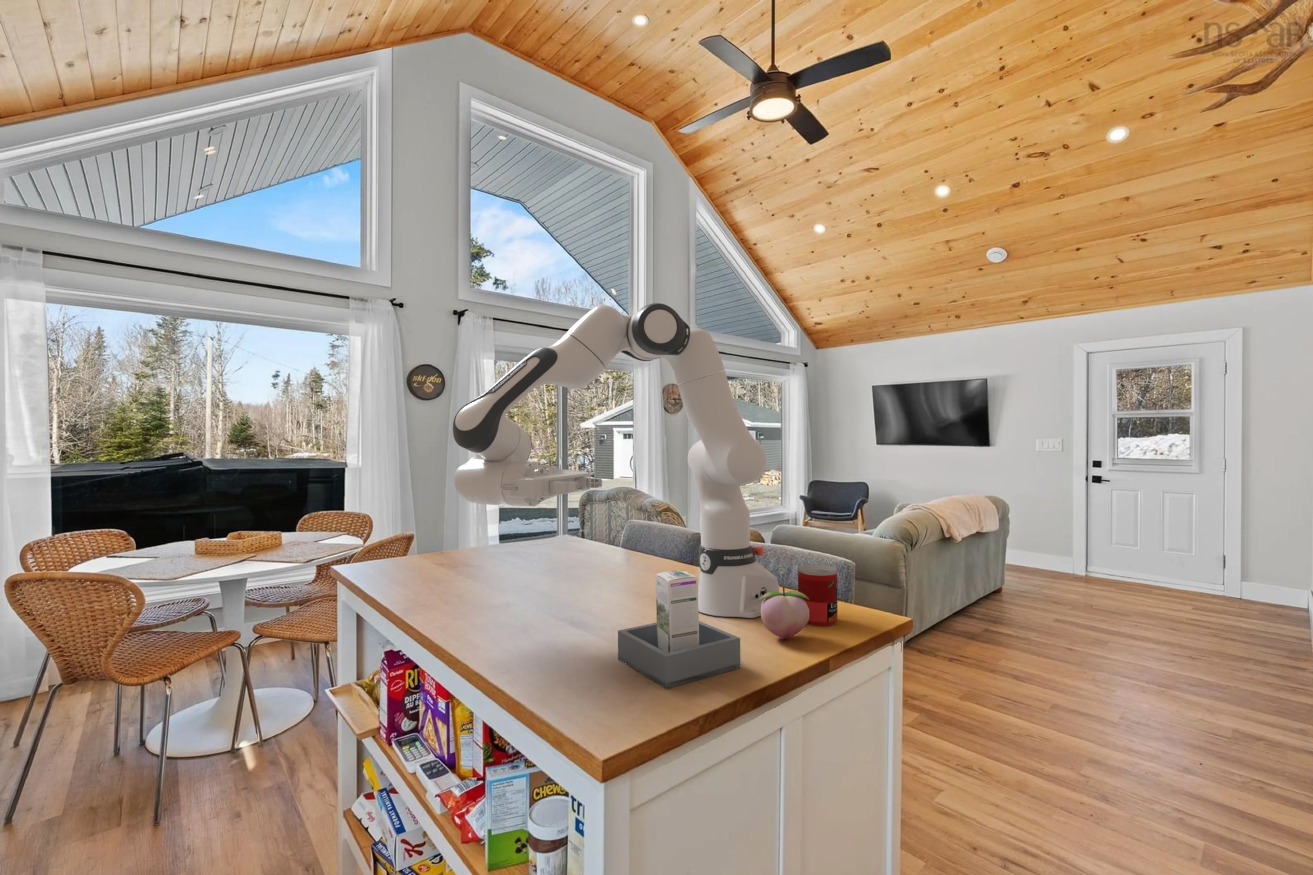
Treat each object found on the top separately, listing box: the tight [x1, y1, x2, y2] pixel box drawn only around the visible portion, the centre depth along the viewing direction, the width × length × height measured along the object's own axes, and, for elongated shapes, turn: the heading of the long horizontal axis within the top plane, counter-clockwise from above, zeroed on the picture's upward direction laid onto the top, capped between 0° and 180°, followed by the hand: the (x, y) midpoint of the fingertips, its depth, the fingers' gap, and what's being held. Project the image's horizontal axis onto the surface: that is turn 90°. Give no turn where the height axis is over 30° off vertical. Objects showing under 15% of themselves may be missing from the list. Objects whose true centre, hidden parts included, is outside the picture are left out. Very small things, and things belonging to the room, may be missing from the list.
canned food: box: [797, 564, 838, 627], centre depth 125 cm, size 8×8×11 cm
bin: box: [617, 620, 741, 690], centre depth 102 cm, size 15×15×5 cm
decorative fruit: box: [759, 586, 809, 640], centre depth 114 cm, size 9×8×10 cm
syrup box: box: [655, 569, 700, 653], centre depth 102 cm, size 6×6×14 cm
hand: (589, 485), depth 113 cm, fingers open, 8 cm apart
